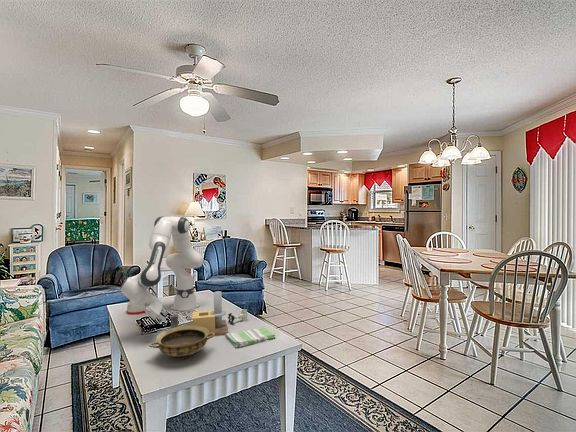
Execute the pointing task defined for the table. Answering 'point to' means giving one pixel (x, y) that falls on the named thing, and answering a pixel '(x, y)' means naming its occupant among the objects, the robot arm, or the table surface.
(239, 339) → the dish towel
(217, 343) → the table surface
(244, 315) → the valve
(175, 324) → the square peg
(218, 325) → the square hole block
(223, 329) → the base board
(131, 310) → the kitchen timer
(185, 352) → the ceramic bowl
